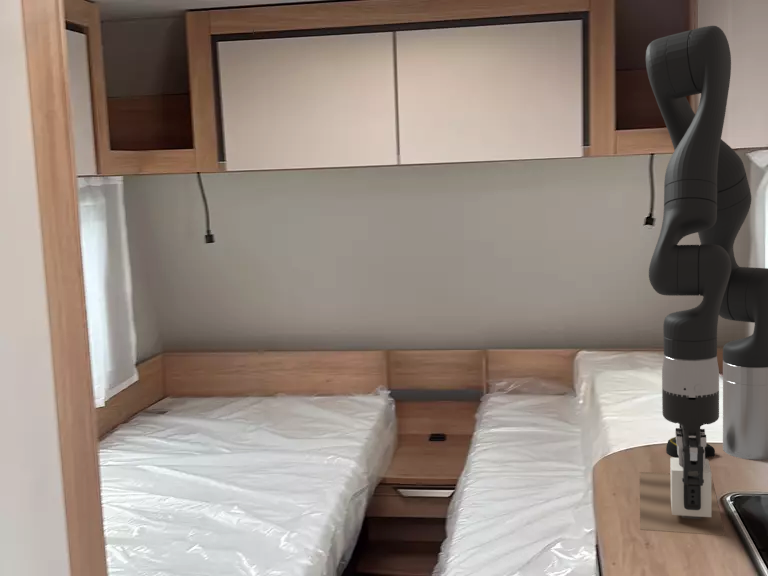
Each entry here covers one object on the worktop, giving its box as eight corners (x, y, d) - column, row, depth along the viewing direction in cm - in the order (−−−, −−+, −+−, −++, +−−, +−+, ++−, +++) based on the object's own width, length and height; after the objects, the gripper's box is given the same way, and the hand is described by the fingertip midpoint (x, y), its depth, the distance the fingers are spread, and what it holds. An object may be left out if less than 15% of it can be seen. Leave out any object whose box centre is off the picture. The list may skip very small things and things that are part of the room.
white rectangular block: (670, 500, 123) (670, 457, 122) (708, 502, 121) (708, 459, 120) (672, 514, 118) (671, 470, 117) (711, 517, 116) (711, 472, 115)
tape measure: (717, 465, 142) (717, 444, 141) (683, 471, 140) (683, 450, 139) (690, 452, 148) (690, 432, 148) (658, 458, 146) (658, 438, 146)
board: (639, 480, 137) (639, 471, 137) (711, 484, 134) (711, 475, 133) (640, 539, 116) (640, 529, 116) (725, 545, 113) (725, 535, 113)
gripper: (660, 372, 125) (662, 480, 127) (663, 399, 111) (665, 520, 113) (714, 373, 122) (714, 483, 125) (724, 401, 109) (724, 523, 111)
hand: (691, 500), depth 119 cm, fingers closed on white rectangular block, 5 cm apart
